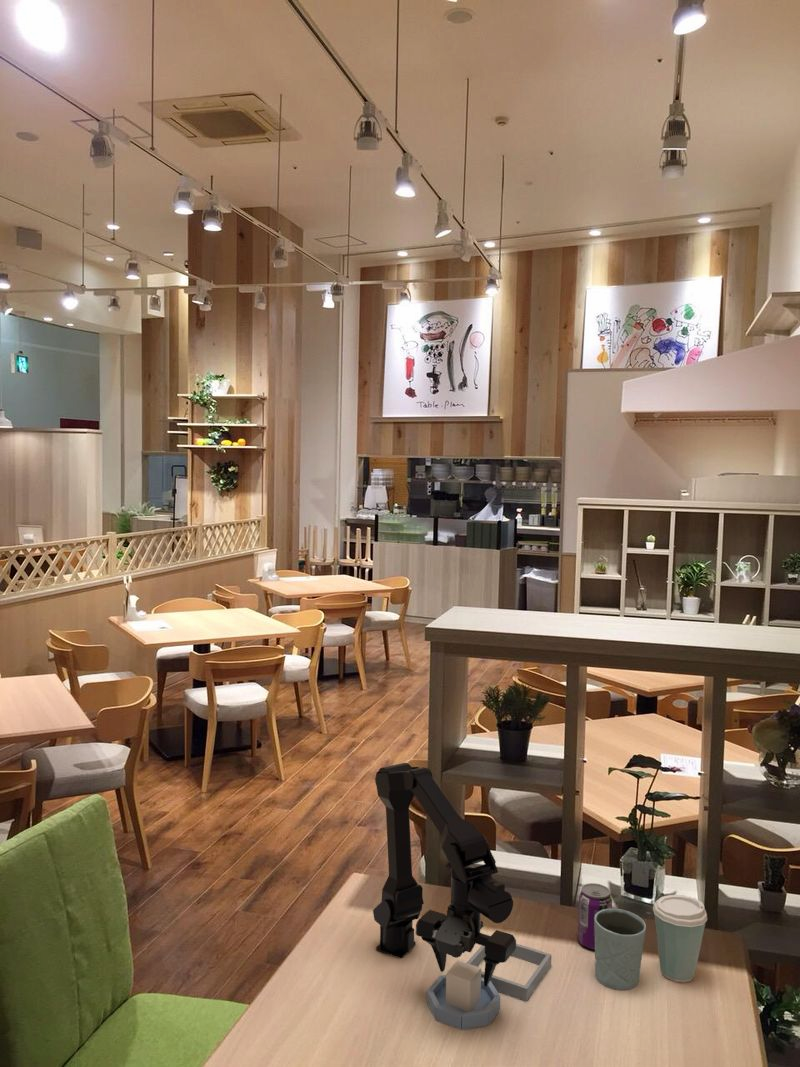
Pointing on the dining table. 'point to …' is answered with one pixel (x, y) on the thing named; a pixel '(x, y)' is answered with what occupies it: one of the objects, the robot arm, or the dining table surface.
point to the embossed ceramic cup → (618, 948)
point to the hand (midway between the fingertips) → (464, 978)
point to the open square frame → (512, 987)
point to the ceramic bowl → (458, 1017)
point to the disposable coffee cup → (679, 935)
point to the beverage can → (591, 911)
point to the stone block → (463, 985)
